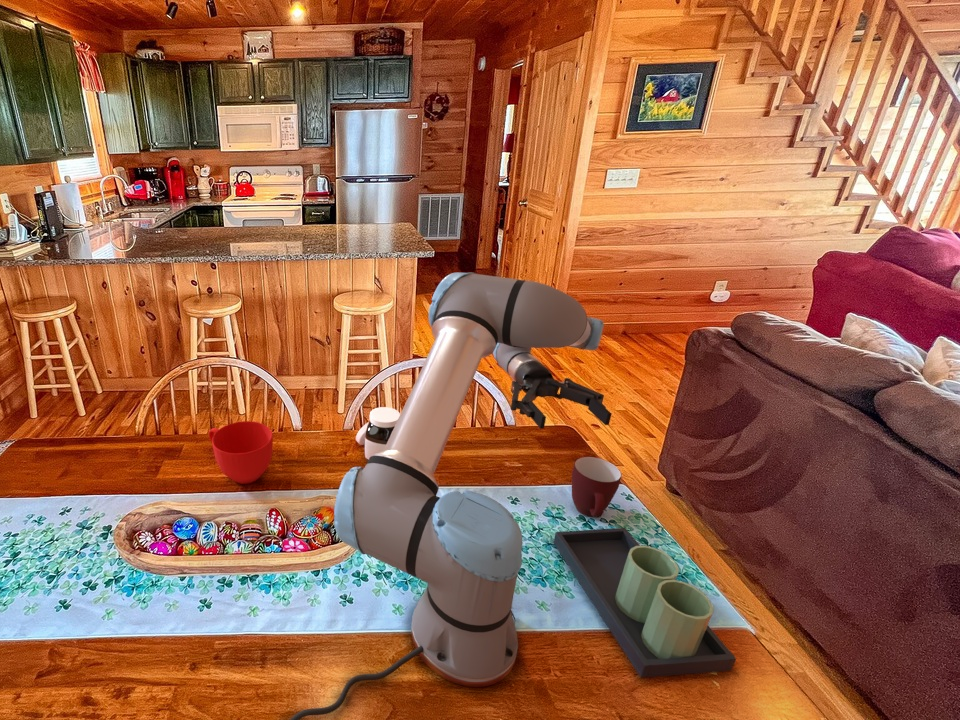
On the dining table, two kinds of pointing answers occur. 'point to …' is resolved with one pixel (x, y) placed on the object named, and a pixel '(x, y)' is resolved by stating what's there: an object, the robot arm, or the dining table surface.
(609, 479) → the mug
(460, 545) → the robot arm
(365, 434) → the spread jar
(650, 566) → the cup
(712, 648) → the tray
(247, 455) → the ceramic cup
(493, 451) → the dining table surface
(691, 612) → the cup
